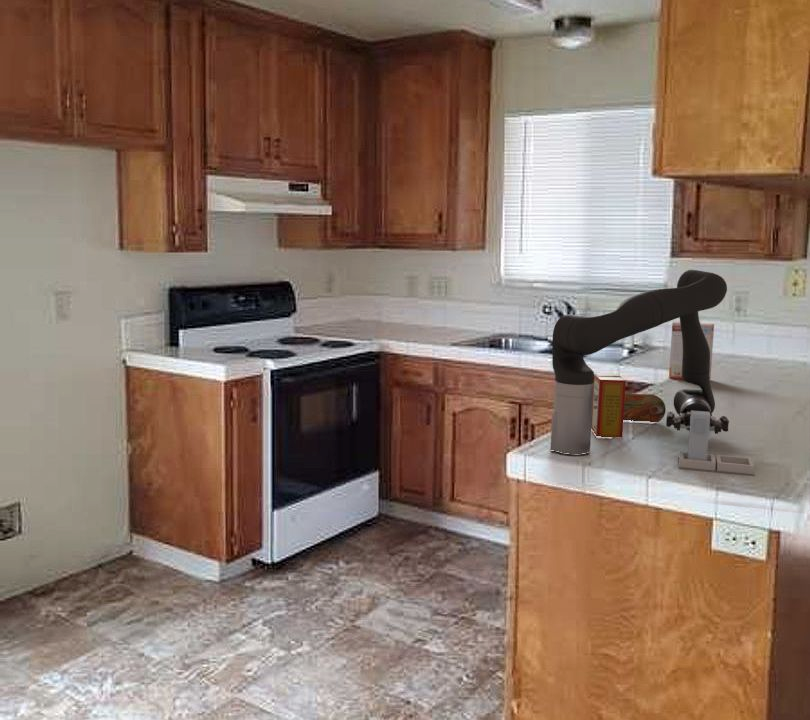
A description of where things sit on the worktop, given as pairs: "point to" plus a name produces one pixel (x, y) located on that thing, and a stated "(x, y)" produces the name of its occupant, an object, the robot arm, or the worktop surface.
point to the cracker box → (677, 348)
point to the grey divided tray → (718, 464)
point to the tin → (643, 407)
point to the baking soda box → (608, 405)
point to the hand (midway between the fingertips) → (697, 427)
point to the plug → (699, 435)
